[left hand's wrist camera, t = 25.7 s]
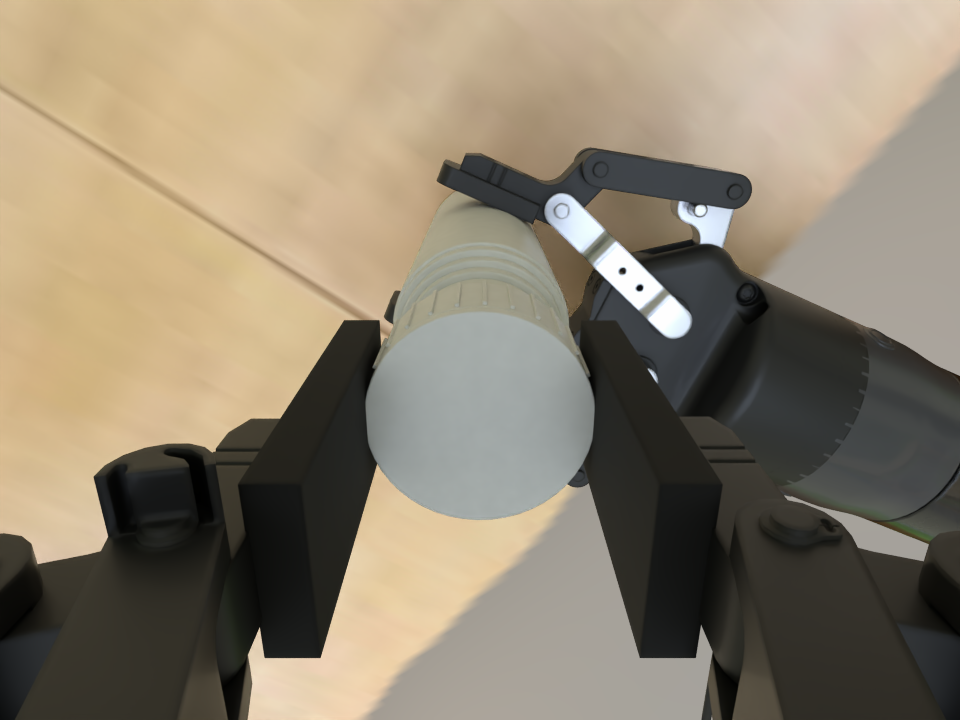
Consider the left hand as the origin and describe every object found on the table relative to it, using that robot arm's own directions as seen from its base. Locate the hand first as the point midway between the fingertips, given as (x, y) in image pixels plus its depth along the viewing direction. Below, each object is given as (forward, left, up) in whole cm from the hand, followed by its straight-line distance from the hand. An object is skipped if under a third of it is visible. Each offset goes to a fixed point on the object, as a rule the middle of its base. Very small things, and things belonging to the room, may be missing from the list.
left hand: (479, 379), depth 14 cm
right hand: (-2, +2, -11) cm, 11 cm away
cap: (0, 0, +2) cm, 2 cm away
